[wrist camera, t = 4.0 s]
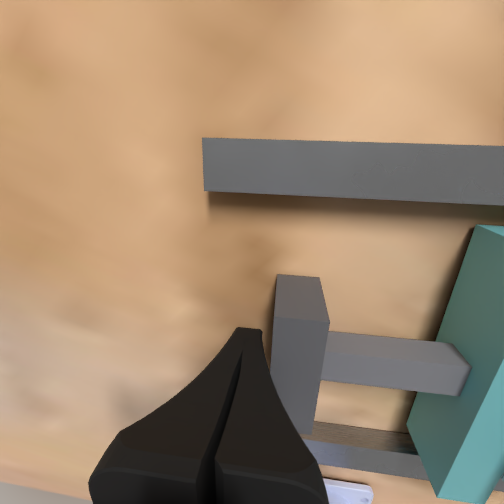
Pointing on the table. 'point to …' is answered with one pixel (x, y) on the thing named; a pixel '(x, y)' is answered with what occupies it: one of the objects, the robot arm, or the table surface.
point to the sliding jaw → (413, 369)
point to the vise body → (363, 187)
